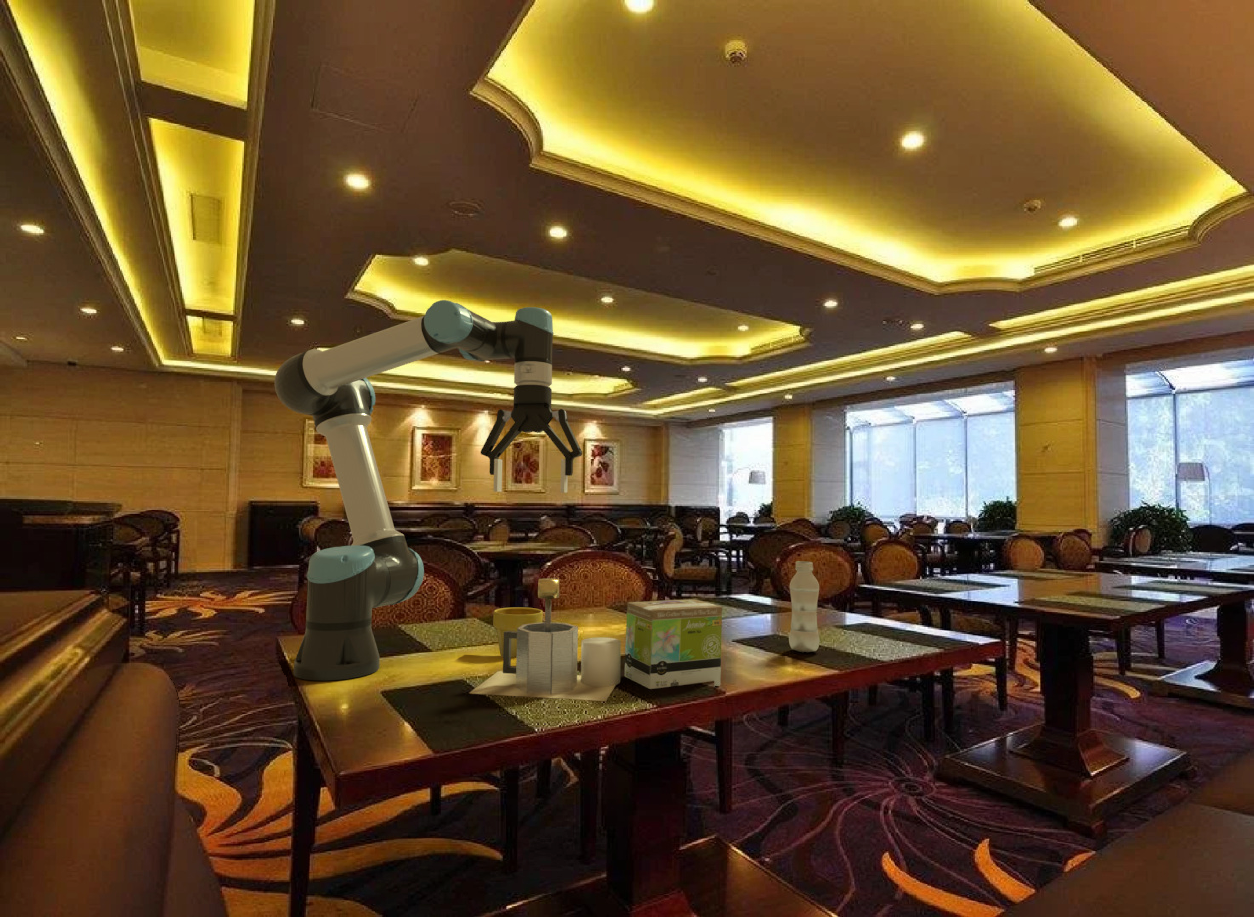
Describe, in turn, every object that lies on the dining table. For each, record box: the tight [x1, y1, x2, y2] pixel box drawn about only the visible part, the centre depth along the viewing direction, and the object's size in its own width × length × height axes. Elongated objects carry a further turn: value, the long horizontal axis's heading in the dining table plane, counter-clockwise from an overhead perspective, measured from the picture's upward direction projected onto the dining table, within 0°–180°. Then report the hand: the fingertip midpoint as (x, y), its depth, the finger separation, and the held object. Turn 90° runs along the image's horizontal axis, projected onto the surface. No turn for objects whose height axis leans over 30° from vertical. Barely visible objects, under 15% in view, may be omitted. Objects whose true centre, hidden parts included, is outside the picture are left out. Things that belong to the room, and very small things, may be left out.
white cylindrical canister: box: [580, 636, 622, 687], centre depth 122 cm, size 7×7×7 cm
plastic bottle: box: [788, 560, 820, 653], centre depth 154 cm, size 6×7×20 cm
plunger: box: [537, 577, 560, 632], centre depth 118 cm, size 7×7×15 cm
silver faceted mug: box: [502, 621, 579, 695], centre depth 118 cm, size 13×10×10 cm
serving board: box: [469, 670, 616, 702], centre depth 119 cm, size 23×15×1 cm, turn 82°
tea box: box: [624, 599, 723, 690], centre depth 125 cm, size 15×10×15 cm, turn 117°
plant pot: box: [492, 606, 544, 658], centre depth 144 cm, size 10×10×10 cm
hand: (530, 492), depth 136 cm, fingers open, 13 cm apart
